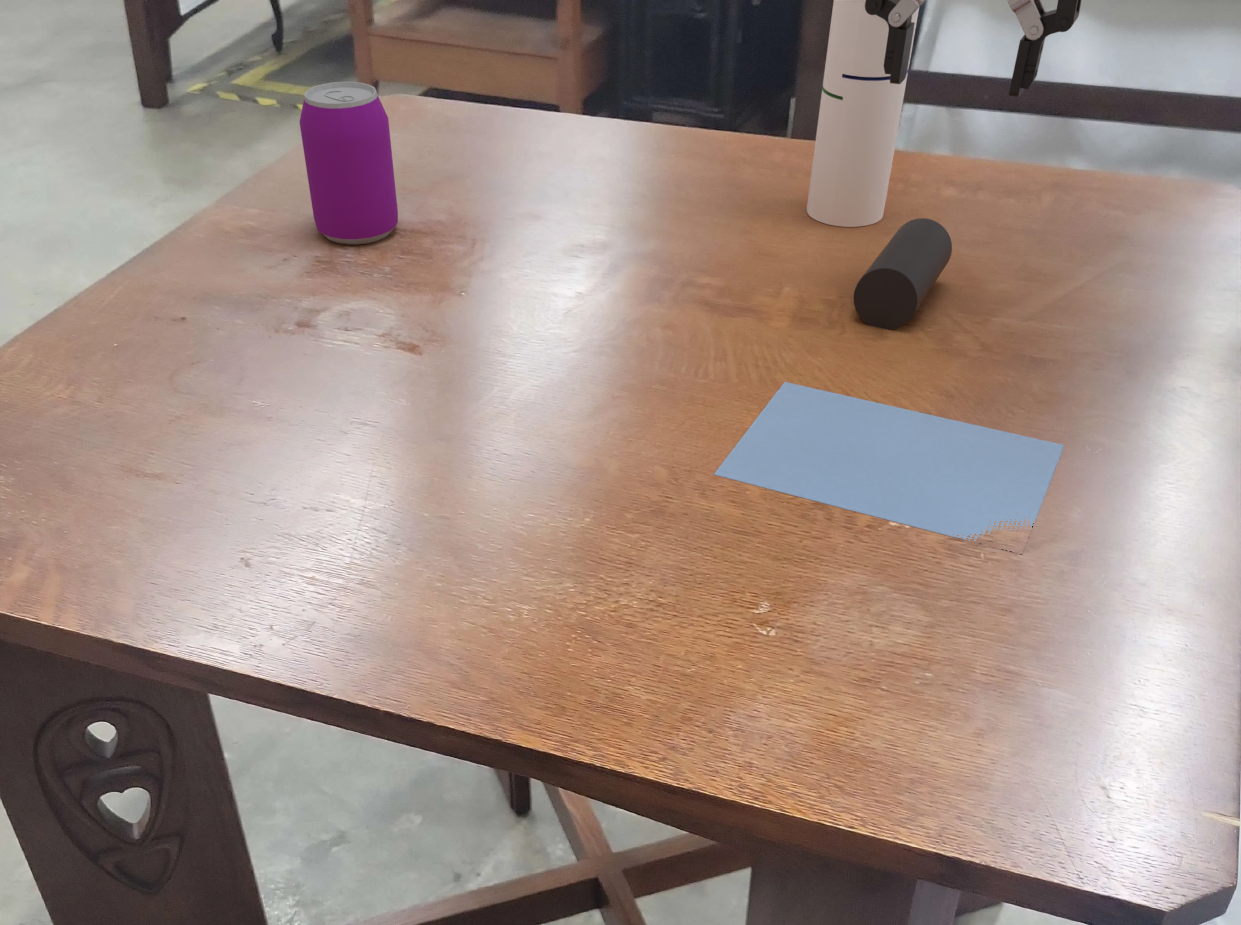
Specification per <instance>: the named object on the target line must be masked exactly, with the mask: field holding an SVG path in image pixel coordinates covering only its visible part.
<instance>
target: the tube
mask: <svg viewBox="0 0 1241 925" xmlns="http://www.w3.org/2000/svg"><path fill="white" fill-rule="evenodd" d="M952 253H953V244H952V238H951V236H950V234H949V232H948V230H946V228H945V227H944V226H943V225H942V224H940V223H939V221H938V222H937V221H936V220H933V219H930V218H924V217H923V218H914V219H911V220H908V221H907V222H906V223H903V225H901V226H900V227H899V228H898V229H897V231H896V232H895V233H894V235H893V236H892V237H891V238H890V240H889V241H888V242H887V244H886V245H885V246H884V248H883V249H882V250H881V252H880V253H879V254H878V255H877V257H876V258H875V259H874V261H873V262H872V263H871V265H870V266H869V267H868V269H867V270H866V271H865V272H864V274H863V275H862V276H861V278H860V279H859V280H858V282H857V284H856V285H855V287H854V291H853V304H854V305H853V306H854V309H855V312H856V314H857V315H858V316H859V318H860V319H861V320H862V321H863V322H864V323H865V325H866V324H867V326H870V327H873V328H878V329H882V330H887V331H893V330H896V329H899V328H901V327H903V326H904V325H906V324H907V323H908V322H909V321H910V320H911V319H912V318H913V316H914V315H915V313H916V312H917V311H918V309H919V308H920V306H921V304H922V303H923V301H924V300H925V298H926V297H927V295H928V294H929V292H930V291H931V289H932V288H933V286H934V285H935V283H936V281H938V279H939V277H940V275H941V274H942V273H943V271H944V269H945V267H947V265H948V263H949V262H950V259H951V257H952Z"/></svg>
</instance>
